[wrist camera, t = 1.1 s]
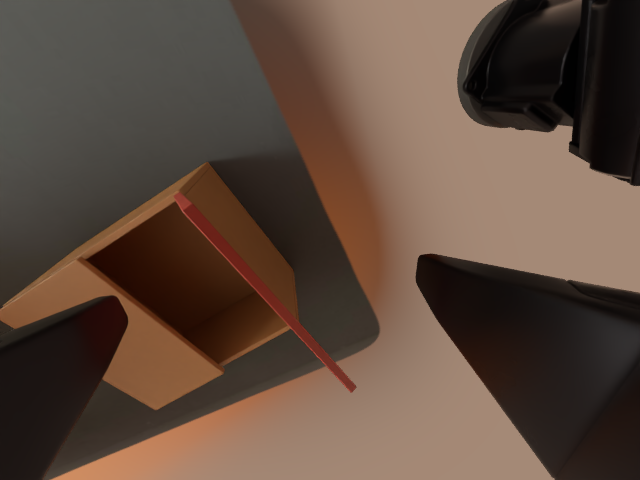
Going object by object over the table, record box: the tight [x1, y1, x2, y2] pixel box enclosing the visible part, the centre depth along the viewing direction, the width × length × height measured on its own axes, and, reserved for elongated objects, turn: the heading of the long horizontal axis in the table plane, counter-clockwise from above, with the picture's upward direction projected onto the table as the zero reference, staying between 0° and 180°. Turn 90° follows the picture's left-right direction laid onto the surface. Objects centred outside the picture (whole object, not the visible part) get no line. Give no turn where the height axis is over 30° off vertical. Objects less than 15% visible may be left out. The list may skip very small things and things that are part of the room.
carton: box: [0, 162, 299, 410], centre depth 21 cm, size 13×12×8 cm
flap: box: [173, 192, 356, 392], centre depth 14 cm, size 6×12×1 cm
